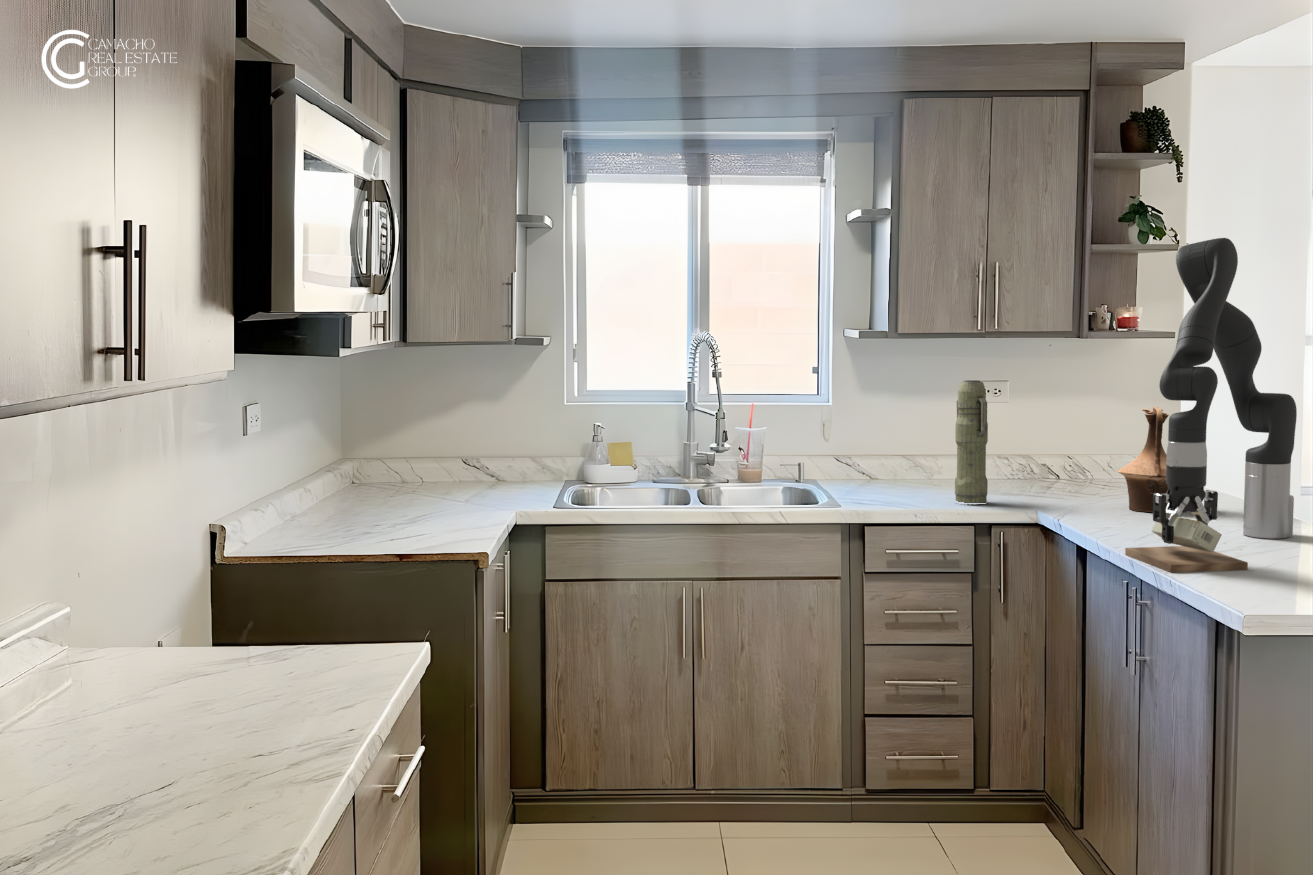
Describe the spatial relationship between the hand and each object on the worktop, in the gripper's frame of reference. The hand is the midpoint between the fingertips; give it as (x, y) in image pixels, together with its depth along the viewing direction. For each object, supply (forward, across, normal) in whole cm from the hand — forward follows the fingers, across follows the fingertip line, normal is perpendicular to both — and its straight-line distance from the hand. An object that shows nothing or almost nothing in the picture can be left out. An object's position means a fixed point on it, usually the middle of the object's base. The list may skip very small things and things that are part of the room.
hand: (1184, 541), depth 224 cm
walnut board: (+4, 0, 0) cm, 4 cm away
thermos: (+4, -1, -87) cm, 87 cm away
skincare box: (-2, 0, +7) cm, 7 cm away
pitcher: (+4, -39, -59) cm, 71 cm away
